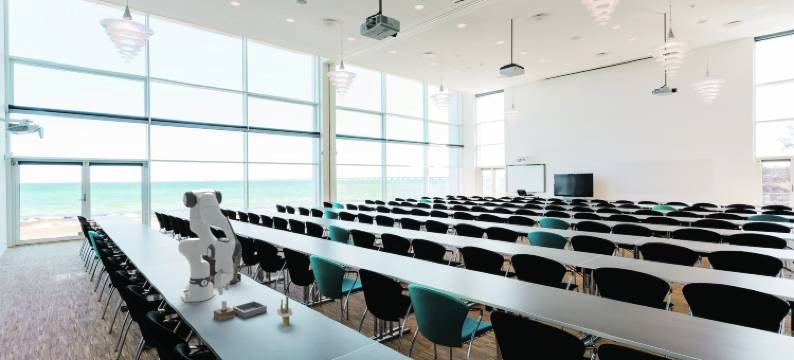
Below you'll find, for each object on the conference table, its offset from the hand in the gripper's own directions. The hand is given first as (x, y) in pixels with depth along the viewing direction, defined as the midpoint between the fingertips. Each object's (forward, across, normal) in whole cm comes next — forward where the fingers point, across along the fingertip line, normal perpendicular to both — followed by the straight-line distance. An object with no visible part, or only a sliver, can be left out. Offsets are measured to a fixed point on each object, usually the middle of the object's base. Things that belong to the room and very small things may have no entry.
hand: (223, 292), depth 210 cm
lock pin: (+14, +1, 0) cm, 14 cm away
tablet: (+13, +76, +29) cm, 82 cm away
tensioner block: (+14, +1, 0) cm, 14 cm away
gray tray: (+14, +7, -12) cm, 20 cm away
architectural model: (+15, -12, -36) cm, 41 cm away
